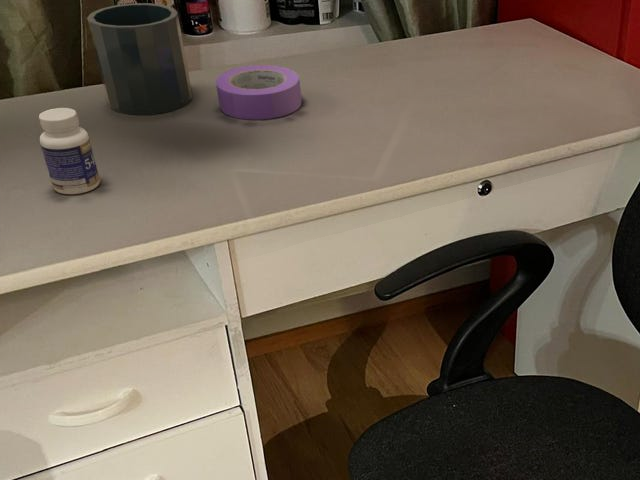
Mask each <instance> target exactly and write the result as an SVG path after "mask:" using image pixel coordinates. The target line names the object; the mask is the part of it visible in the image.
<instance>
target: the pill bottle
mask: <svg viewBox="0 0 640 480" xmlns="http://www.w3.org/2000/svg"><path fill="white" fill-rule="evenodd" d="M38 120H39V123H40V126H41V129H42V130H43V132H42V133H41V135H40V136H39V143H40V148H41V151H42V154H43V158H44V160H45V164H46V168H47V171H48V174H49V178H50V182H51V185H52V188H53V189H54V191H55V192H57V193H60V194H63V195H79V194H85V193H87V192H90V191H93V190H94V189H96V188H98V186H99V184H100V182H101V179H100V175H99V171H98V166H97V164H96V160H95V155H94V152H93V148H92V145H91V139H90V137H89V134H88V132H87V131H86V129H85V128H84V127H81V126H79V125H80V119H79V116H78V113H77V111H76V110H75V109H74V108H70V107H56V108H51V109H47V110H44V111H42V112H40V113H39V115H38Z"/></svg>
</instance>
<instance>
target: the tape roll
mask: <svg viewBox="0 0 640 480" xmlns="http://www.w3.org/2000/svg"><path fill="white" fill-rule="evenodd" d="M215 86H216V91H217V98H218V105H219V109H220V111H221V112H222V113H223V114H225V115H227V116H229V117H232V118H236V119H241V120H250V121H251V120H253V121H256V120H257V121H262V120H263V121H264V120H270V119H271V120H272V119H276V118H281V117H285V116H287V115H290V114H292V113H294V112H296V111H298V110H299V109H300V108H301V106H302V103H303V101H302V92H301V82H300V76H299V74H298V73H297V72H295V71H294V70H292V69H290V68H287V67H284V66H279V65H270V64H269V65H267V64H266V65H265V64H262V65H259V64H257V65H247V66H240V67H236V68H233V69H230V70H228V71H227V70H226V71H225V72H223V73H222V74H220V75H219V76H218V77H217V78H216V80H215Z"/></svg>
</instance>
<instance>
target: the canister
mask: <svg viewBox="0 0 640 480" xmlns="http://www.w3.org/2000/svg"><path fill="white" fill-rule="evenodd" d="M86 19H87V24H88V28H89V31H90V36H91V40H92V44H93V49H94V53H95V57H96V60H97V65H98V69H99V73H100V77H101V82H102V87H103V90H104V94H105V98H106V101H107V103H108V106H109V108H110V109H111V110H112V111H115V112H117V113H120V114H124V115H134V116H149V115H150V116H152V115H158V114H159V115H160V114H164V113H169V112H173V111H176V110H179V109H181V108H183V107H185V106H187V105H188V104H189V103H190V102H191V101H192V98H193V92H192V86H191V79H190V74H189V67H188V63H187V58H186V51H185V46H184V40H183V35H182V29H181V24H180V23H181V22H180V19H179V12H178V11H177V10H176V9H175V8H173V7H171V6H167V5H165V4H161V3H159V4H158V3H150V2H149V3H148V2H147V3H146V2H143V3H142V2H139V3H137V2H136V3H135V2H134V3H133V2H132V3H124V4H118V5H117V4H116V5H110V6H107V7H102V8H99V9H97V10H94V11H92V12H91V13H90V14H89V15H87V18H86Z"/></svg>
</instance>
